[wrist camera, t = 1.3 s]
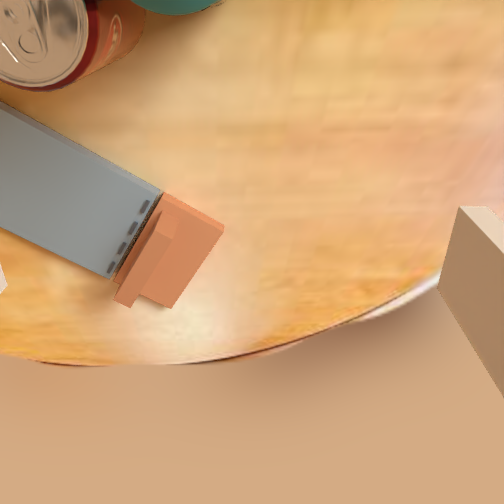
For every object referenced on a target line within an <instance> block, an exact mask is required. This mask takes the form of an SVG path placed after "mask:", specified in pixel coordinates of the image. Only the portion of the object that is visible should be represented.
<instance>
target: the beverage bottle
mask: <svg viewBox="0 0 504 504" xmlns="http://www.w3.org/2000/svg"><path fill="white" fill-rule="evenodd" d="M131 1H132V2H134V3H135V4H137V5H139V6H141V7H143V8H145V9H147V10H149V11H152V12H155V13H159V14H164V15H186V14H191V13H195V12H198V11H200V10H201V11H202V10H204V9H206V8H208V7H210V5H213V4H215V3H217V2H219V1H221V0H131ZM223 3H224V2H223ZM220 5H221V4H220ZM216 6H217V5H216ZM218 6H219V5H218ZM212 7H213V6H212Z"/></svg>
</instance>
